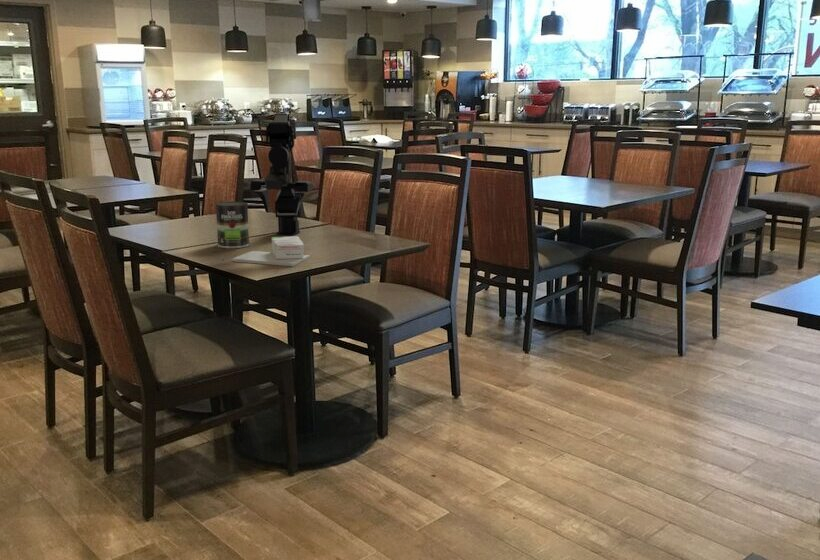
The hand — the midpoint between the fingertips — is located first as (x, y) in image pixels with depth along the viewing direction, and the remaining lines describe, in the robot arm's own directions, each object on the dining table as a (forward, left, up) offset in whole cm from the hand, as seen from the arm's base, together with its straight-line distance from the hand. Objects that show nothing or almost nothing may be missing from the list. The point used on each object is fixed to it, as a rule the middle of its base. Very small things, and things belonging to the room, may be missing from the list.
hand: (282, 213), depth 232 cm
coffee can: (-21, +5, -13) cm, 25 cm away
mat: (+1, -10, -13) cm, 16 cm away
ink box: (+1, -1, -10) cm, 10 cm away
